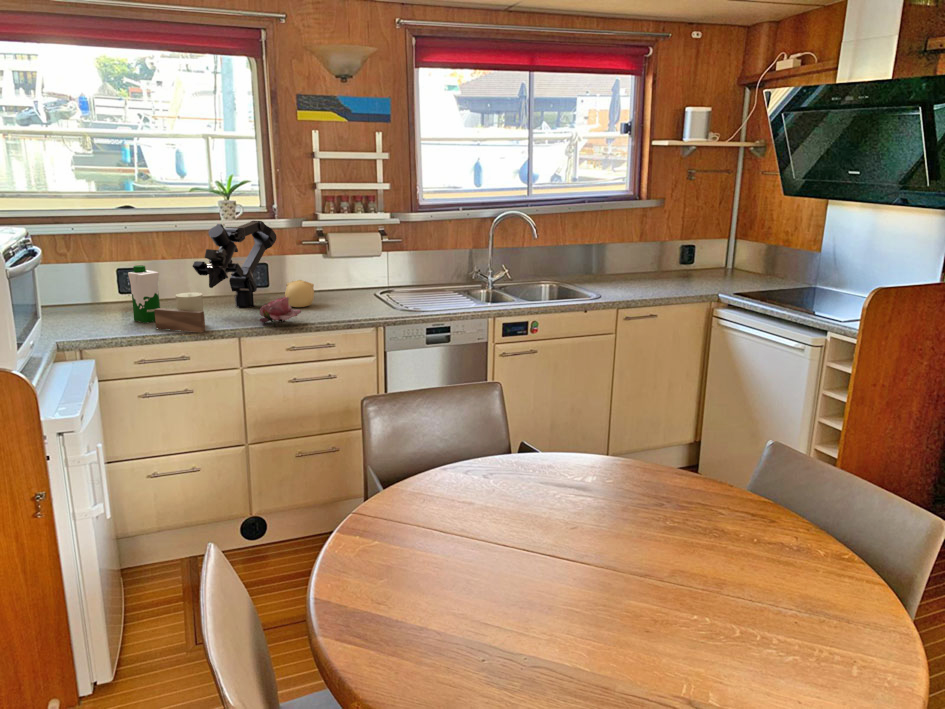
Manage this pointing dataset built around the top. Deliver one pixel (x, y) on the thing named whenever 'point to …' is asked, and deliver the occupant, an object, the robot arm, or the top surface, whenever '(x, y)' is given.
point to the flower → (277, 311)
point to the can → (189, 301)
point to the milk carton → (144, 293)
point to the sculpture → (299, 293)
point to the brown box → (180, 320)
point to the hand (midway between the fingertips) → (210, 287)
